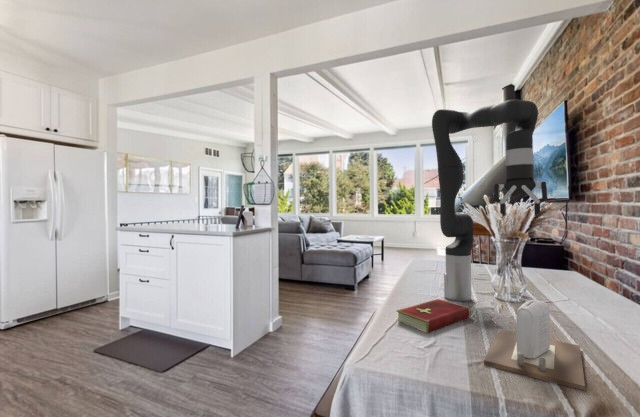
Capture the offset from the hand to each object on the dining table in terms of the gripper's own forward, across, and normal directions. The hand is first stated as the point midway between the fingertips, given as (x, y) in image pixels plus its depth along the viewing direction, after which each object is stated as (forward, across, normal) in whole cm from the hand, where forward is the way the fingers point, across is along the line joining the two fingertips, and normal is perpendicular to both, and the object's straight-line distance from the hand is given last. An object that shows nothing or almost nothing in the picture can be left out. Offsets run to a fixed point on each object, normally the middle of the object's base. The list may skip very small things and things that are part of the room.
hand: (519, 215), depth 100 cm
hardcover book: (+34, -22, -15) cm, 43 cm away
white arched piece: (+34, -9, -5) cm, 35 cm away
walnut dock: (+33, +5, -26) cm, 42 cm away
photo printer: (+32, +5, -26) cm, 42 cm away
